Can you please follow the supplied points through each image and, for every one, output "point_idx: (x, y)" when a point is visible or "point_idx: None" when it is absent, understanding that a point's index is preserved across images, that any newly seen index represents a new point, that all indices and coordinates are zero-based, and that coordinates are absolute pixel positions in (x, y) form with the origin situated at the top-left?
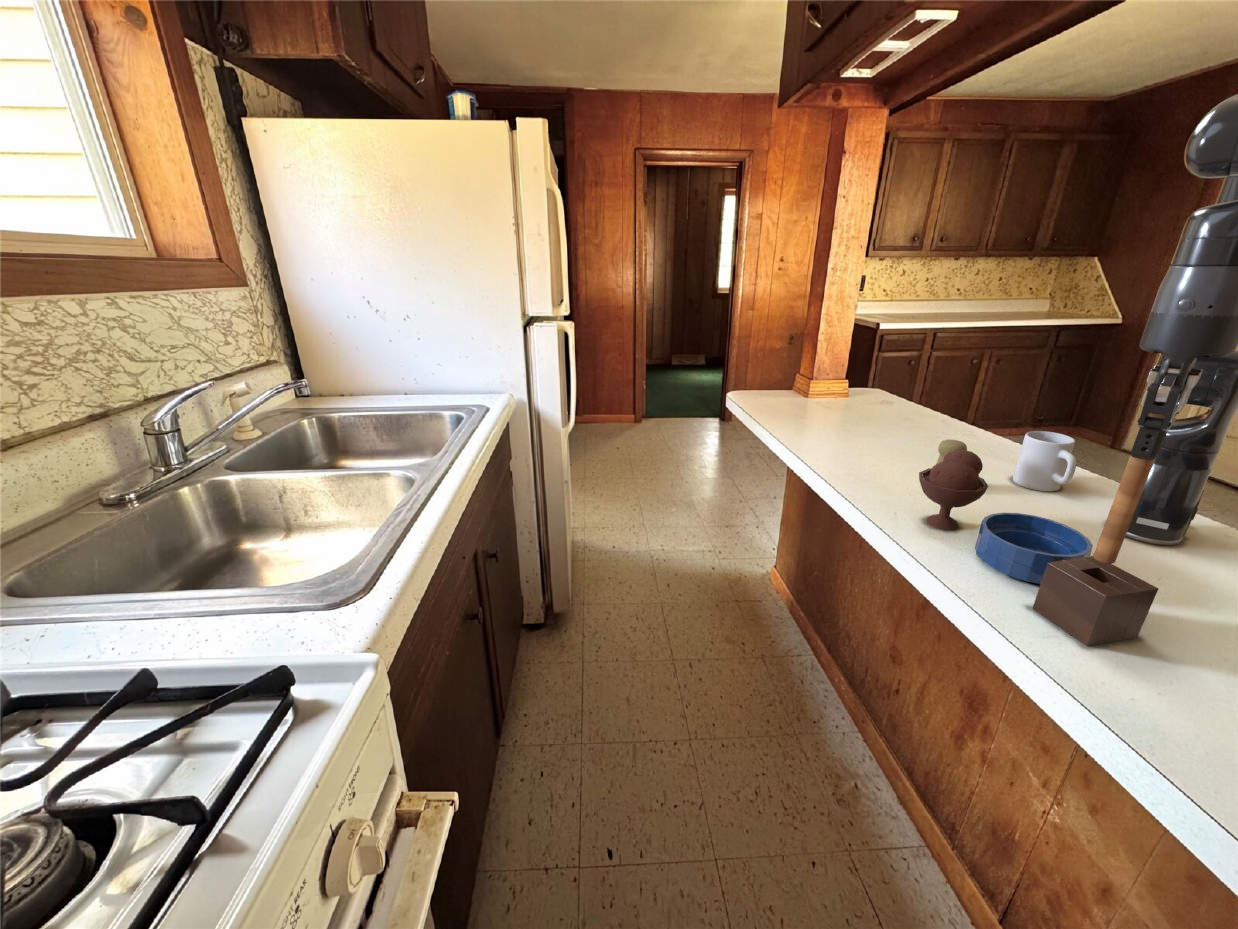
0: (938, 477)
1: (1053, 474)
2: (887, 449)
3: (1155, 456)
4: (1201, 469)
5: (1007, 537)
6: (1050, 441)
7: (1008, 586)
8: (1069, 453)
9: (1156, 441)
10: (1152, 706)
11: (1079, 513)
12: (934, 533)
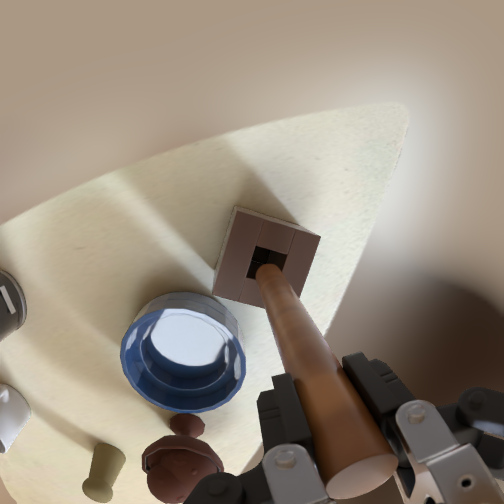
0: None
1: (6, 401)
2: None
3: (362, 355)
4: None
5: (168, 379)
6: None
7: (255, 325)
8: None
9: (403, 386)
10: (341, 156)
11: (24, 355)
12: (216, 418)
